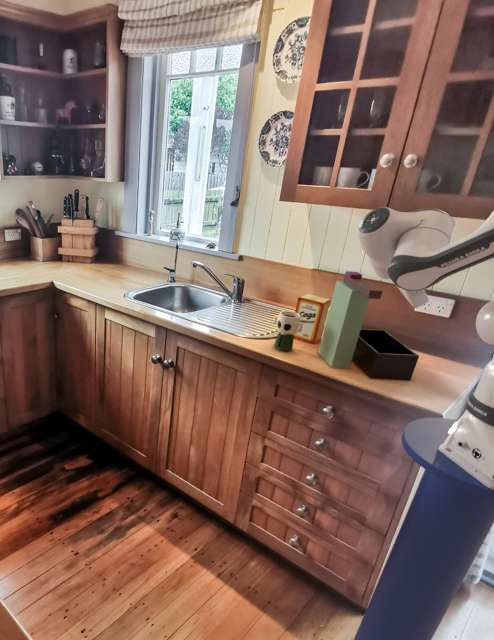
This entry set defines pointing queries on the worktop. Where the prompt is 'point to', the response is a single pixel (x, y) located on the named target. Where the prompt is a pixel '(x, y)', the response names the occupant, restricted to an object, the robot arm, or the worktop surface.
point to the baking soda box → (311, 317)
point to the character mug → (287, 329)
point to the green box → (343, 325)
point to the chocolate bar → (361, 285)
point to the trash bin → (383, 356)
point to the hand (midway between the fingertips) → (407, 291)
